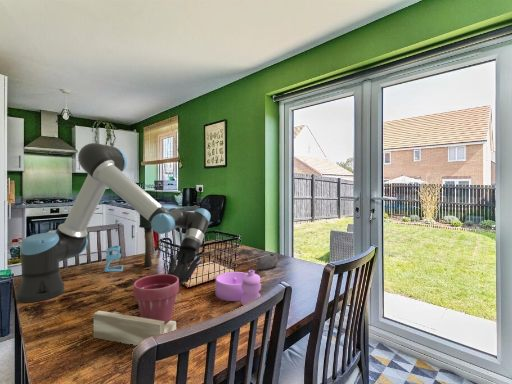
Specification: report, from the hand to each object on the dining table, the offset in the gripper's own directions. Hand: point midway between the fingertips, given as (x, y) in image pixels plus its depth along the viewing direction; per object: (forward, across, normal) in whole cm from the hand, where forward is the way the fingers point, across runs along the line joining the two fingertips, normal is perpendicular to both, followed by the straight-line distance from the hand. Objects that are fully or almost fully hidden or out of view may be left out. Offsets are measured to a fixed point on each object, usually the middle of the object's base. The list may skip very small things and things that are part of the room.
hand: (169, 299), depth 98 cm
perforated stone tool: (-37, -23, -43) cm, 61 cm away
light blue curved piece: (-19, +51, -25) cm, 60 cm away
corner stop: (+15, +1, +9) cm, 17 cm away
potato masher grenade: (-26, +38, -32) cm, 57 cm away
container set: (-9, -20, -16) cm, 27 cm away
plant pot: (+7, +1, +2) cm, 8 cm away
